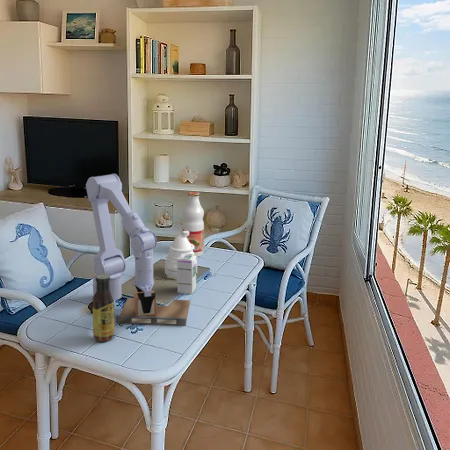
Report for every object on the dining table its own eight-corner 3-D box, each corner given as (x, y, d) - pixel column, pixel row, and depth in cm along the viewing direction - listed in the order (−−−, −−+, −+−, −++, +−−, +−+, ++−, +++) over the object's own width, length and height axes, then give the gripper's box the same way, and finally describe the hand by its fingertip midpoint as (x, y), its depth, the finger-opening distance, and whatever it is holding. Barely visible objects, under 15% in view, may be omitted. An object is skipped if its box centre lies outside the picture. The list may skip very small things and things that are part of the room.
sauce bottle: (103, 345, 145) (101, 282, 140) (88, 338, 149) (85, 277, 143) (119, 335, 151) (117, 275, 145) (104, 330, 154) (102, 270, 148)
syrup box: (192, 297, 178) (193, 260, 174) (176, 295, 179) (176, 258, 175) (196, 291, 183) (197, 254, 179) (181, 289, 184) (181, 252, 180)
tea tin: (134, 312, 163) (134, 292, 161) (153, 310, 165) (153, 290, 163) (136, 318, 159) (135, 298, 157) (156, 316, 161) (155, 296, 159)
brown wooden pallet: (116, 326, 156) (115, 316, 155) (127, 301, 174) (127, 292, 173) (185, 329, 156) (185, 319, 155) (190, 303, 173) (190, 294, 172)
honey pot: (200, 269, 203) (201, 227, 198) (192, 282, 191) (193, 237, 186) (169, 266, 205) (170, 225, 200) (160, 278, 193) (160, 234, 188)
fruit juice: (207, 253, 221) (209, 192, 213) (193, 259, 214) (194, 196, 206) (192, 248, 227) (193, 189, 218) (177, 254, 220) (178, 192, 211)
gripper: (128, 261, 163) (129, 299, 167) (134, 278, 150) (135, 319, 154) (150, 259, 165) (150, 297, 169) (157, 276, 152) (158, 316, 156)
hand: (144, 307), depth 161 cm, fingers open, 7 cm apart
